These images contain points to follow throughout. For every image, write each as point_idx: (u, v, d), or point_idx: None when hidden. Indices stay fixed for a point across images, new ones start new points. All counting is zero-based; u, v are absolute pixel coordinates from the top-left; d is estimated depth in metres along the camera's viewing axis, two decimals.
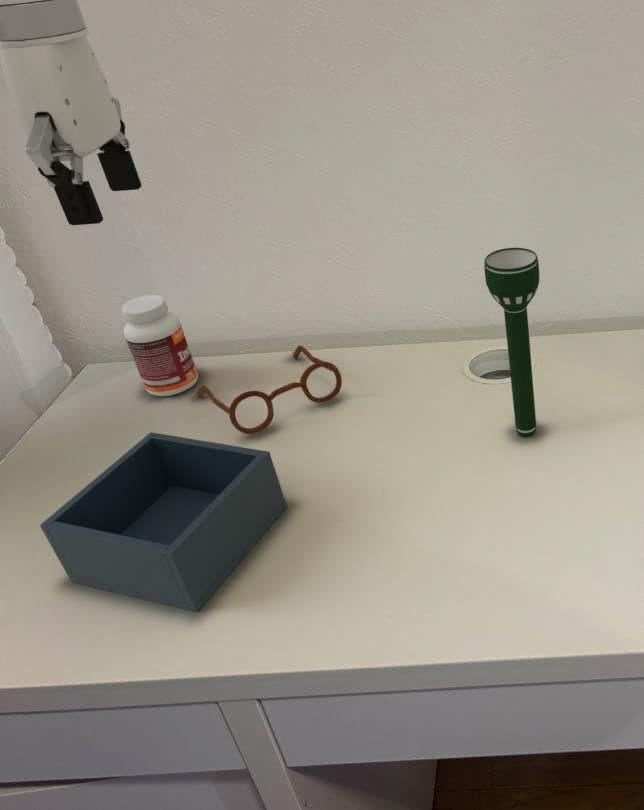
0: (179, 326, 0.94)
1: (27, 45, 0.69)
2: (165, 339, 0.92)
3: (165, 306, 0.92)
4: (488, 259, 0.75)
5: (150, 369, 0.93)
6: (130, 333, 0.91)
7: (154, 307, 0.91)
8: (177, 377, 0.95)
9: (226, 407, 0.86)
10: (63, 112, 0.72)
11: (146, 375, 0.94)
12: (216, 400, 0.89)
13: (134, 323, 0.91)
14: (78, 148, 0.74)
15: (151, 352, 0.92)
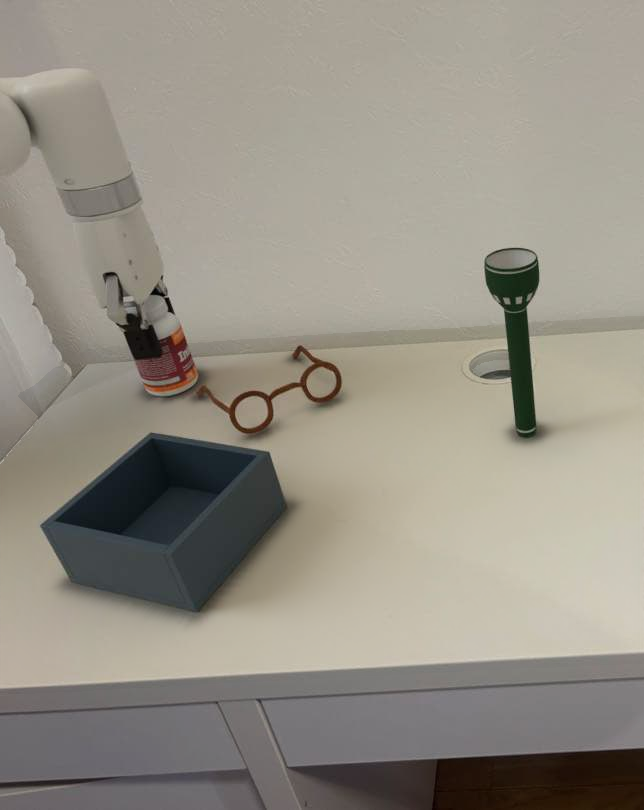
0: (179, 326, 0.94)
1: (97, 219, 0.82)
2: (165, 339, 0.92)
3: (165, 306, 0.92)
4: (488, 259, 0.75)
5: (150, 369, 0.93)
6: None
7: (154, 307, 0.91)
8: (177, 378, 0.95)
9: (226, 407, 0.86)
10: (127, 271, 0.84)
11: (146, 375, 0.94)
12: (216, 400, 0.89)
13: None
14: (138, 298, 0.86)
15: None
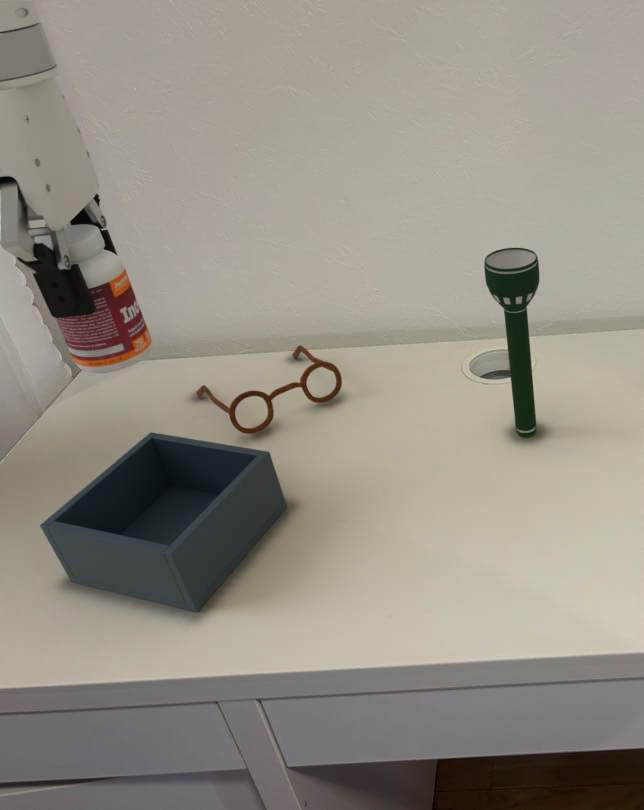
0: (122, 270, 0.64)
1: None
2: (100, 288, 0.62)
3: (100, 239, 0.63)
4: (488, 259, 0.75)
5: (78, 333, 0.63)
6: None
7: (82, 239, 0.61)
8: (119, 346, 0.65)
9: (226, 407, 0.86)
10: (32, 176, 0.55)
11: (74, 342, 0.64)
12: (216, 400, 0.89)
13: None
14: (53, 220, 0.57)
15: None
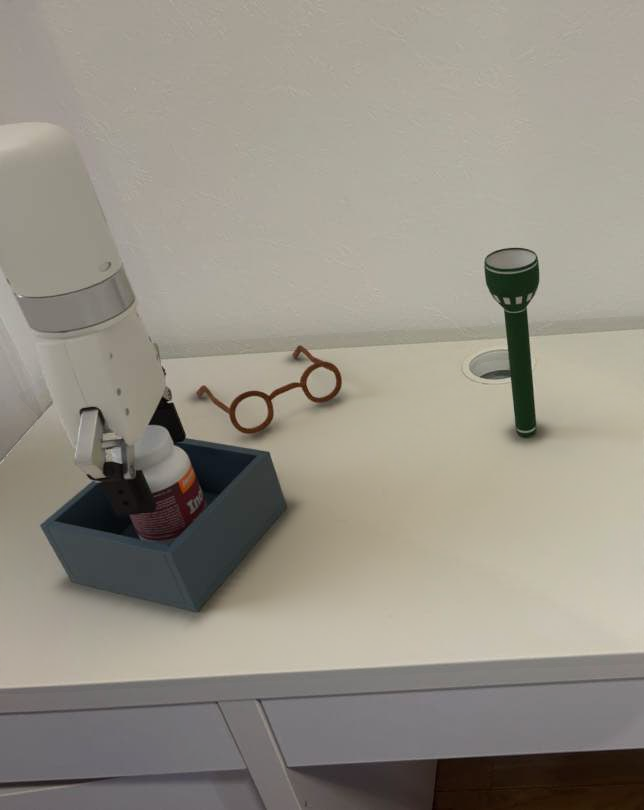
0: (189, 467, 0.69)
1: (71, 336, 0.57)
2: (170, 488, 0.68)
3: (170, 443, 0.68)
4: (488, 259, 0.75)
5: (149, 527, 0.69)
6: None
7: (155, 447, 0.66)
8: None
9: (226, 407, 0.86)
10: (115, 405, 0.60)
11: (144, 533, 0.69)
12: (216, 400, 0.89)
13: None
14: (131, 439, 0.62)
15: None
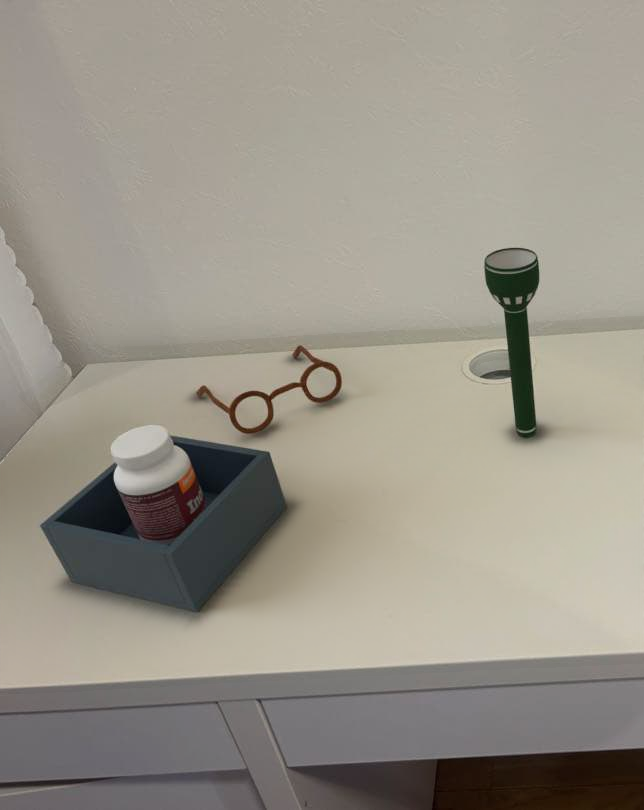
0: (189, 466, 0.69)
1: None
2: (170, 488, 0.68)
3: (170, 443, 0.68)
4: (488, 259, 0.75)
5: (149, 527, 0.69)
6: (122, 482, 0.67)
7: (155, 447, 0.66)
8: None
9: (226, 407, 0.86)
10: None
11: (144, 533, 0.69)
12: (216, 400, 0.89)
13: None
14: None
15: (151, 506, 0.67)
